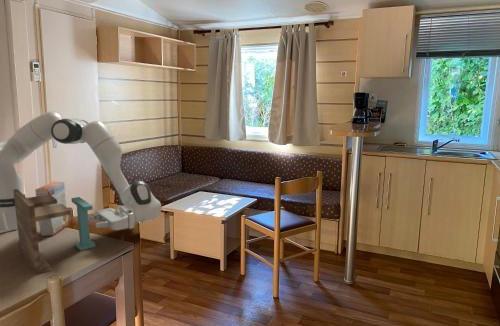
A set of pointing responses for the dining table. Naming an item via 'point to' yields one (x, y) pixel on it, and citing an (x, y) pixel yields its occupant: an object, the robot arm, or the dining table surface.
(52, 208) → the wall shelf
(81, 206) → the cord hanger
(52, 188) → the cracker box
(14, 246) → the dining table surface
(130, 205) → the robot arm
